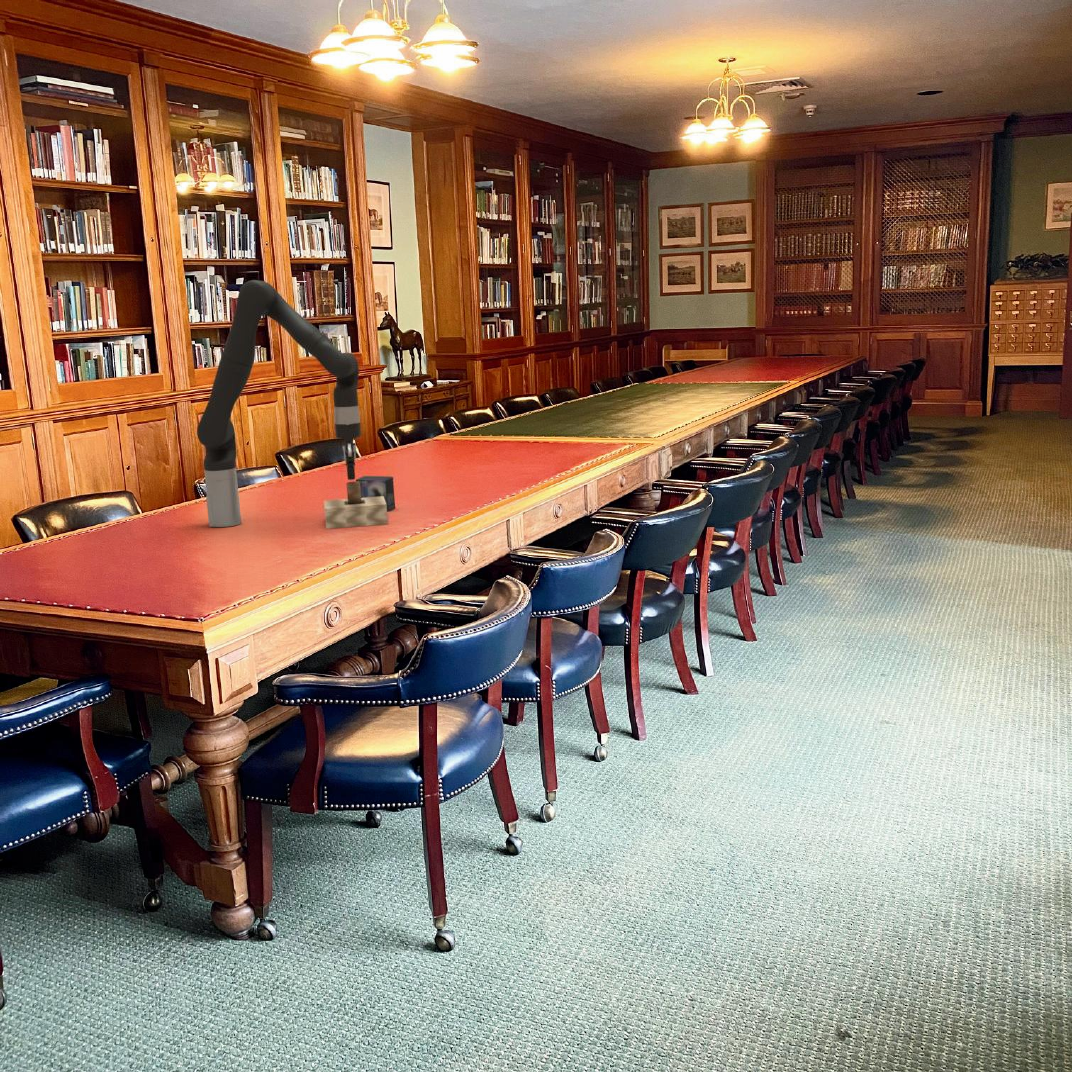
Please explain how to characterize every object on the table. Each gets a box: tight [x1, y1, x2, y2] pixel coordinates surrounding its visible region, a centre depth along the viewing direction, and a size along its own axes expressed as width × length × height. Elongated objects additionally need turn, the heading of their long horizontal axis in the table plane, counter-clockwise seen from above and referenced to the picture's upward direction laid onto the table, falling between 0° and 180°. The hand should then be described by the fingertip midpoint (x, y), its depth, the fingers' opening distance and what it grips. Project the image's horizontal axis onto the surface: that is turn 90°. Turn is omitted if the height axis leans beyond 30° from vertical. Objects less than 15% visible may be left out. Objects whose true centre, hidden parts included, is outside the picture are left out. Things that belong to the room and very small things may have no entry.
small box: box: [355, 475, 396, 513], centre depth 336 cm, size 11×6×10 cm, turn 73°
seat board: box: [323, 496, 389, 530], centre depth 319 cm, size 18×14×6 cm
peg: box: [346, 481, 362, 505], centre depth 318 cm, size 4×4×12 cm
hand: (351, 479), depth 317 cm, fingers closed
